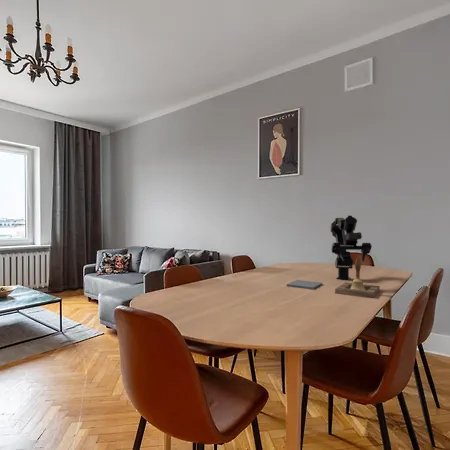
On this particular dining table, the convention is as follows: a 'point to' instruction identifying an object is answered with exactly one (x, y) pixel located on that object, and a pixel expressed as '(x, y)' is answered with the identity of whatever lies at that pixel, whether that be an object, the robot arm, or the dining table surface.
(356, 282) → the hand bell
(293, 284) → the grey rubber mat
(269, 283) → the dining table surface
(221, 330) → the dining table surface
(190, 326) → the dining table surface
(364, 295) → the walnut well board
